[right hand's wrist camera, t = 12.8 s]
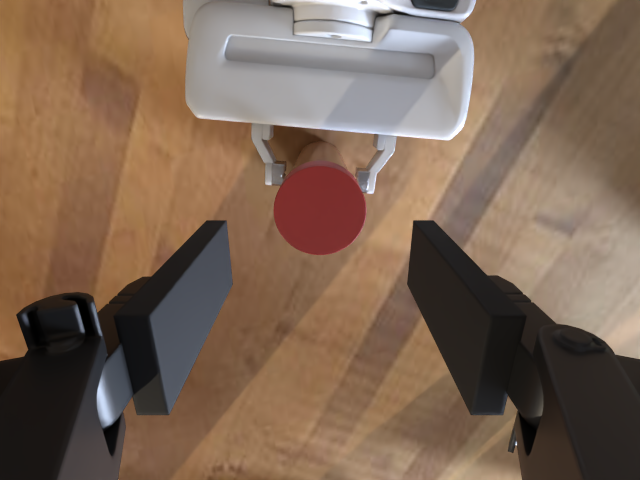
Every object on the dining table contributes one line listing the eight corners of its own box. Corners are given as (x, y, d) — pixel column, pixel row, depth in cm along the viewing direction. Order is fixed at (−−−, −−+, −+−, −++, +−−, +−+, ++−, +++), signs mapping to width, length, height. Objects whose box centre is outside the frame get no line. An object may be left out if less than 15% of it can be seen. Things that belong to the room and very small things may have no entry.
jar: (317, 130, 33) (315, 151, 18) (353, 162, 34) (377, 206, 20) (287, 167, 34) (262, 214, 20) (322, 197, 35) (324, 262, 21)
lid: (314, 141, 20) (314, 145, 18) (379, 198, 21) (385, 207, 19) (260, 207, 21) (254, 217, 19) (324, 257, 22) (324, 271, 20)
